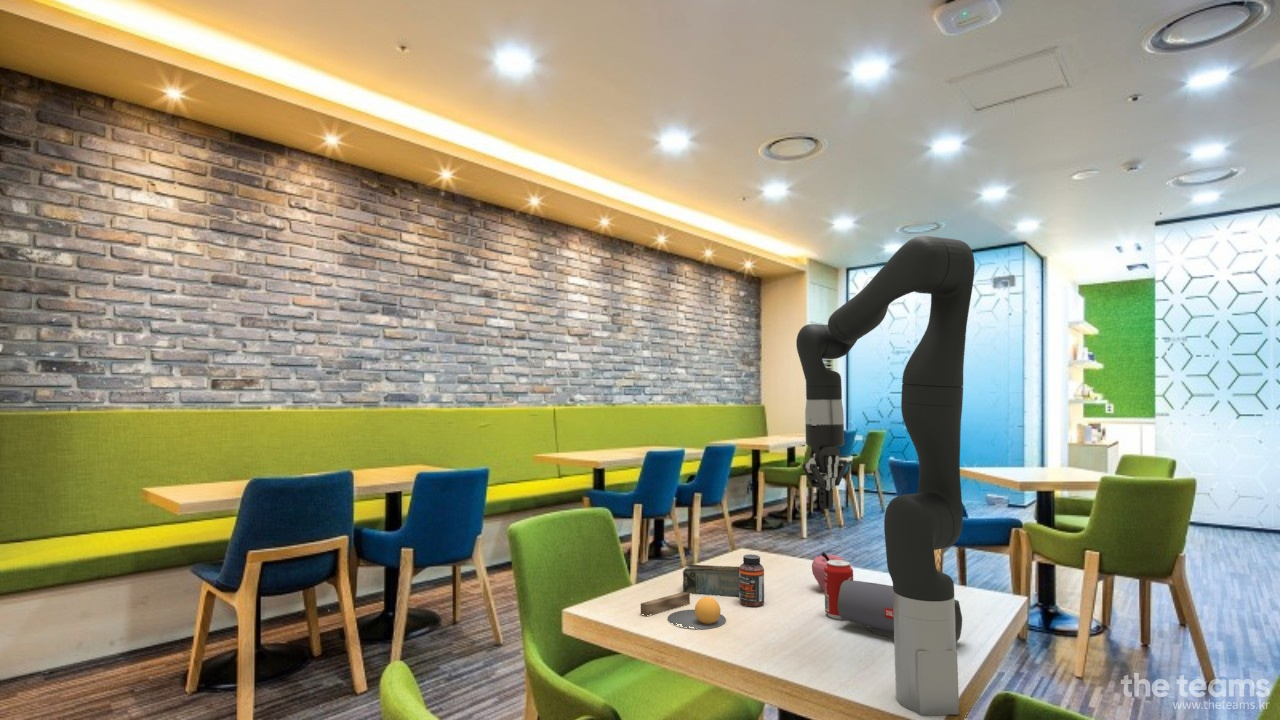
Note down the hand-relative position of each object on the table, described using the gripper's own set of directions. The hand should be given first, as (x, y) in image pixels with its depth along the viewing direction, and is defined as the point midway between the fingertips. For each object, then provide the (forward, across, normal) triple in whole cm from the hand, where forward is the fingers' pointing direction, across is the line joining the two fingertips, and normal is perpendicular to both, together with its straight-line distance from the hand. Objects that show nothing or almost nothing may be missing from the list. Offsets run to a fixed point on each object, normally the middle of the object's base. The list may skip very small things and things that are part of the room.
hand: (826, 508), depth 133 cm
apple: (+27, -34, -21) cm, 48 cm away
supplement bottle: (+27, -10, -28) cm, 40 cm away
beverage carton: (+28, -13, -40) cm, 50 cm away
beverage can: (+27, -18, -9) cm, 34 cm away
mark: (+27, +8, -29) cm, 40 cm away
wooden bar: (+27, +8, -39) cm, 48 cm away
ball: (+24, +8, -25) cm, 36 cm away
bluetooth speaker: (+27, -16, +6) cm, 32 cm away
